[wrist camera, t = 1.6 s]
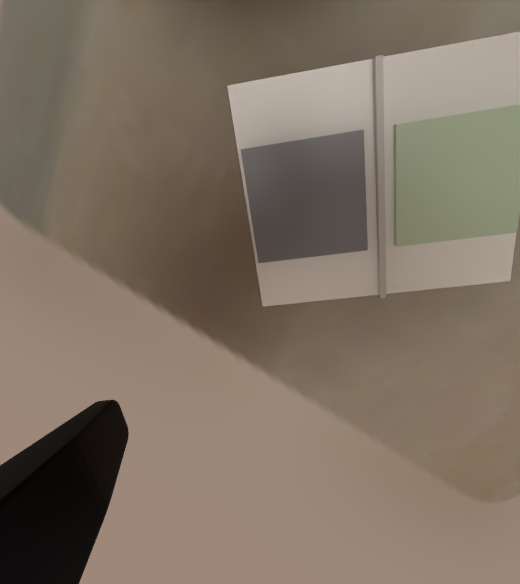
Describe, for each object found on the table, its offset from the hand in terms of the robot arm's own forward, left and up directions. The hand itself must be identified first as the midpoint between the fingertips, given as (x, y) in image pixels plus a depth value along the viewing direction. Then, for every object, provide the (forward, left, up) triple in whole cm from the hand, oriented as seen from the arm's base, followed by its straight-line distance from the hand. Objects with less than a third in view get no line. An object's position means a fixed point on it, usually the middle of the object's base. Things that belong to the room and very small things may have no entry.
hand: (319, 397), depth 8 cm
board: (-4, -2, -13) cm, 13 cm away
